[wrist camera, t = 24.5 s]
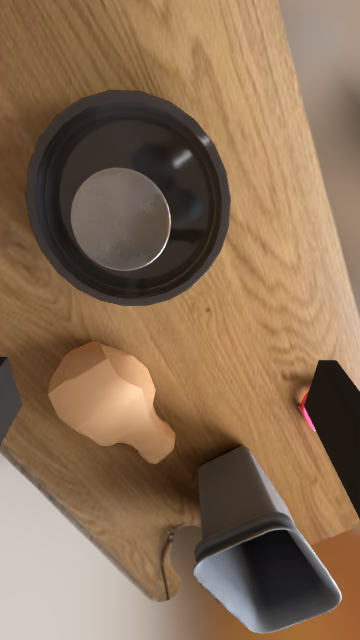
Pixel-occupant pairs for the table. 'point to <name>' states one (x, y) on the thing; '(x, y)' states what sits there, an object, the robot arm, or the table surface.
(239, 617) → the storage bin
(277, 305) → the table surface
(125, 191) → the corn can
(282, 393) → the table surface
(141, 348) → the table surface
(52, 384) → the squash
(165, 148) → the pan
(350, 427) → the robot arm
